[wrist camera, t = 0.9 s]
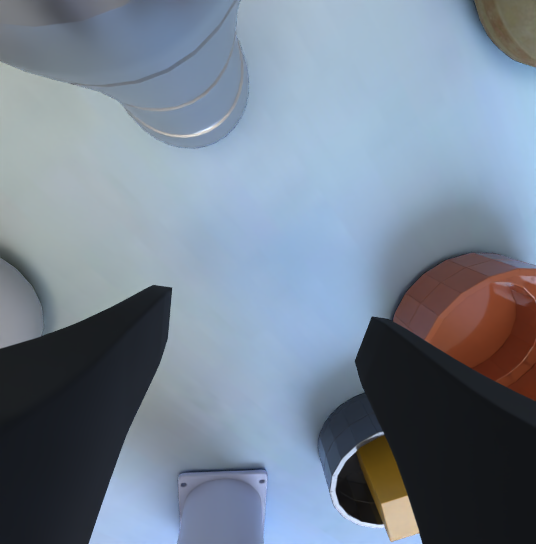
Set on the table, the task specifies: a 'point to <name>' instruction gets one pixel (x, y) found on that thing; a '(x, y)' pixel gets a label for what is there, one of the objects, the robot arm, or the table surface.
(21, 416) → the robot arm
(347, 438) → the pot
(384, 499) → the block
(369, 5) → the table surface
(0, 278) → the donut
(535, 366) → the bowl
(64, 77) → the silver bottle
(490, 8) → the ceramic vessel
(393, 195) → the table surface
